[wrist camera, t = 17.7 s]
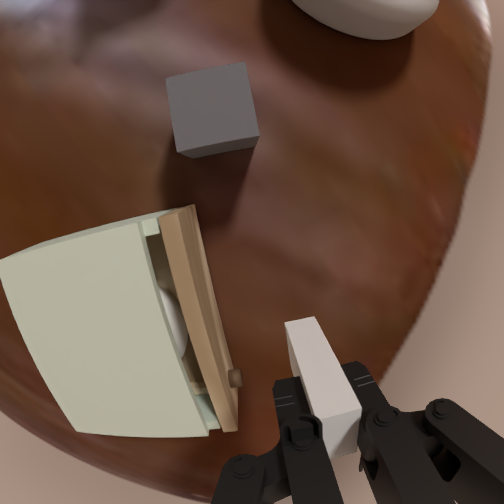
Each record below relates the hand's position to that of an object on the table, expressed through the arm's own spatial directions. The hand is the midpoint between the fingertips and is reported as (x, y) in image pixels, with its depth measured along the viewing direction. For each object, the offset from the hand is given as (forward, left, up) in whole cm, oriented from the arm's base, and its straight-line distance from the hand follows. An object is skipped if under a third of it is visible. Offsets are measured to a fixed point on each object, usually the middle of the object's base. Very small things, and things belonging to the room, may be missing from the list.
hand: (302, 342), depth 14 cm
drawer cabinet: (-14, -2, -11) cm, 18 cm away
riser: (-2, +13, -11) cm, 17 cm away
